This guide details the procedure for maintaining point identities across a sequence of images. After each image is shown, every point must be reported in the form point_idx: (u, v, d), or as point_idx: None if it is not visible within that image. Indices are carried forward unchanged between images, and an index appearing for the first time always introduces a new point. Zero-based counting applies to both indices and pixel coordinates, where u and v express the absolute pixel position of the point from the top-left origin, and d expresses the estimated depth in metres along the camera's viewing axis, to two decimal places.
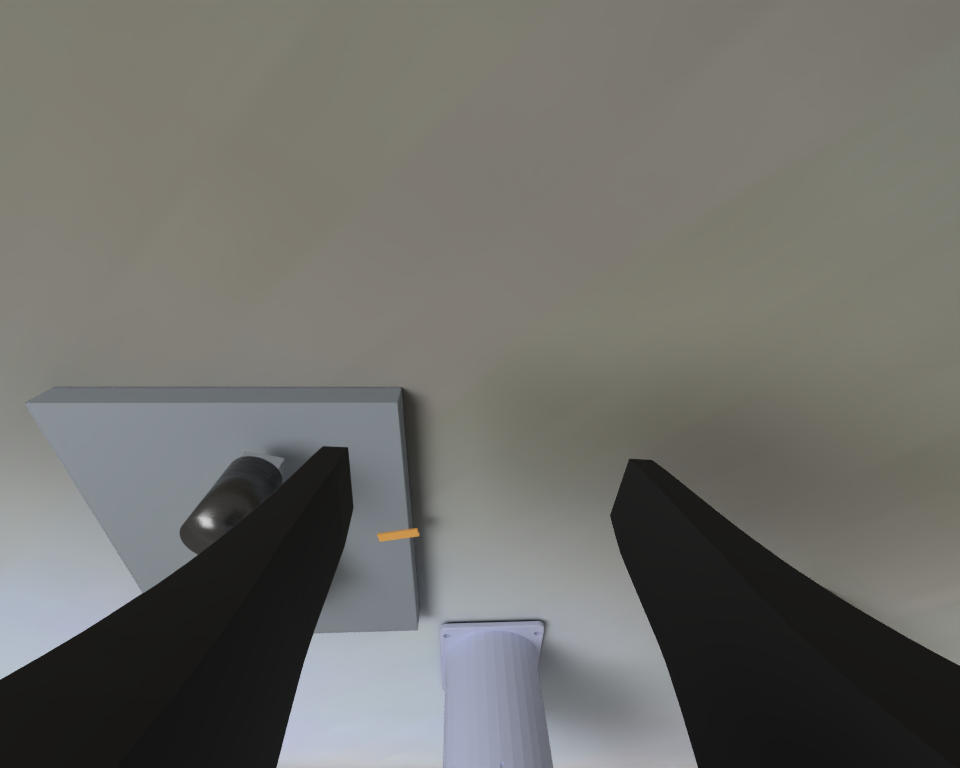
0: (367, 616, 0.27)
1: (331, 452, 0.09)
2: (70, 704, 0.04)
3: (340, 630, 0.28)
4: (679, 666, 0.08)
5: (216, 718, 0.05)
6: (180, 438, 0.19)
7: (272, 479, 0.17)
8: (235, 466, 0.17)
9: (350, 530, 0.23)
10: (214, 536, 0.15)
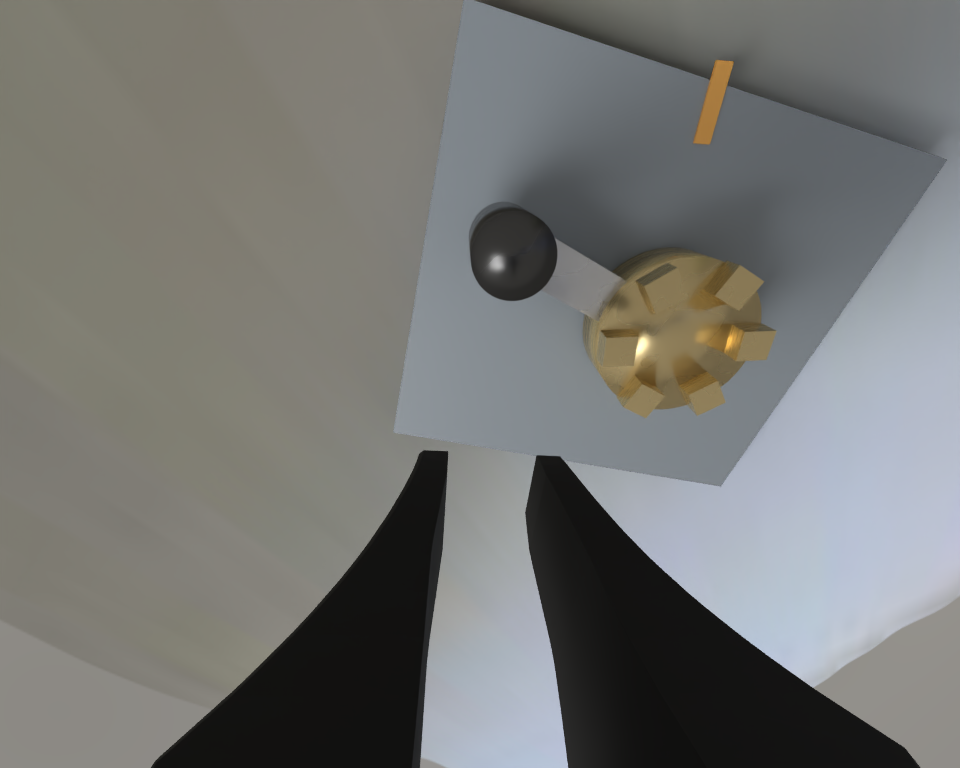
0: (850, 237, 0.16)
1: (435, 457, 0.09)
2: (330, 701, 0.04)
3: (849, 293, 0.18)
4: (561, 666, 0.08)
5: (419, 716, 0.05)
6: (457, 327, 0.17)
7: (501, 203, 0.13)
8: None
9: (667, 185, 0.15)
10: (509, 254, 0.11)
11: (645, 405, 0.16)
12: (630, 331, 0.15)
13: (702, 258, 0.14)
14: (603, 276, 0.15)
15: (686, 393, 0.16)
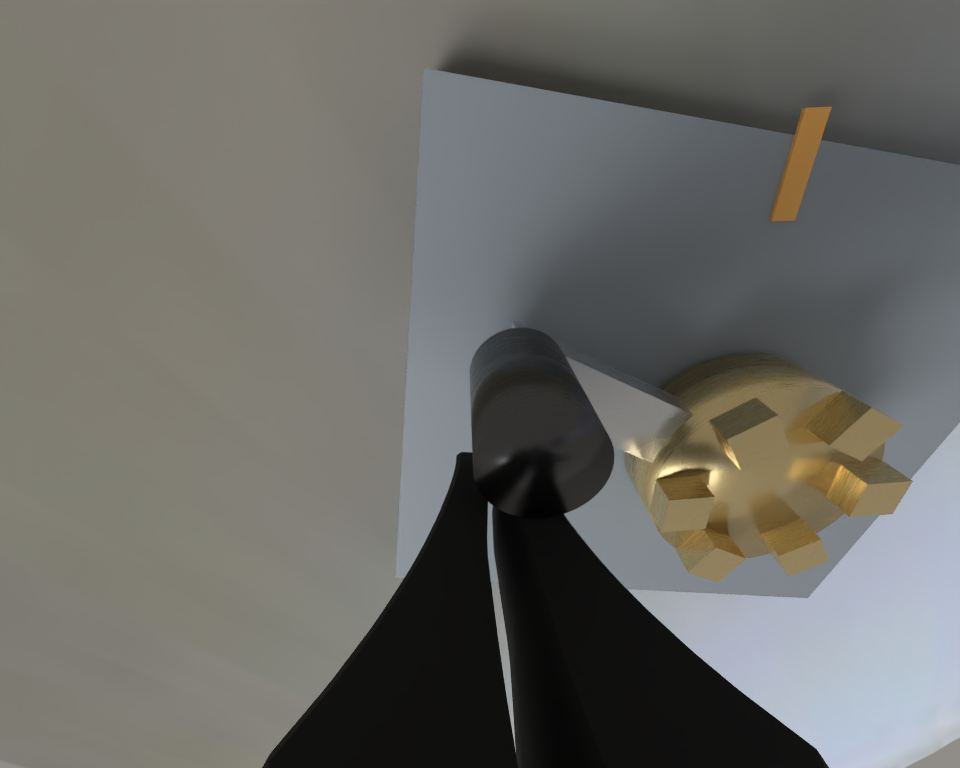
0: None
1: None
2: (422, 700, 0.04)
3: None
4: (514, 666, 0.08)
5: None
6: None
7: (516, 337, 0.09)
8: None
9: (733, 277, 0.11)
10: (536, 463, 0.07)
11: (718, 568, 0.12)
12: (699, 482, 0.11)
13: (807, 389, 0.10)
14: (660, 410, 0.10)
15: (774, 550, 0.12)
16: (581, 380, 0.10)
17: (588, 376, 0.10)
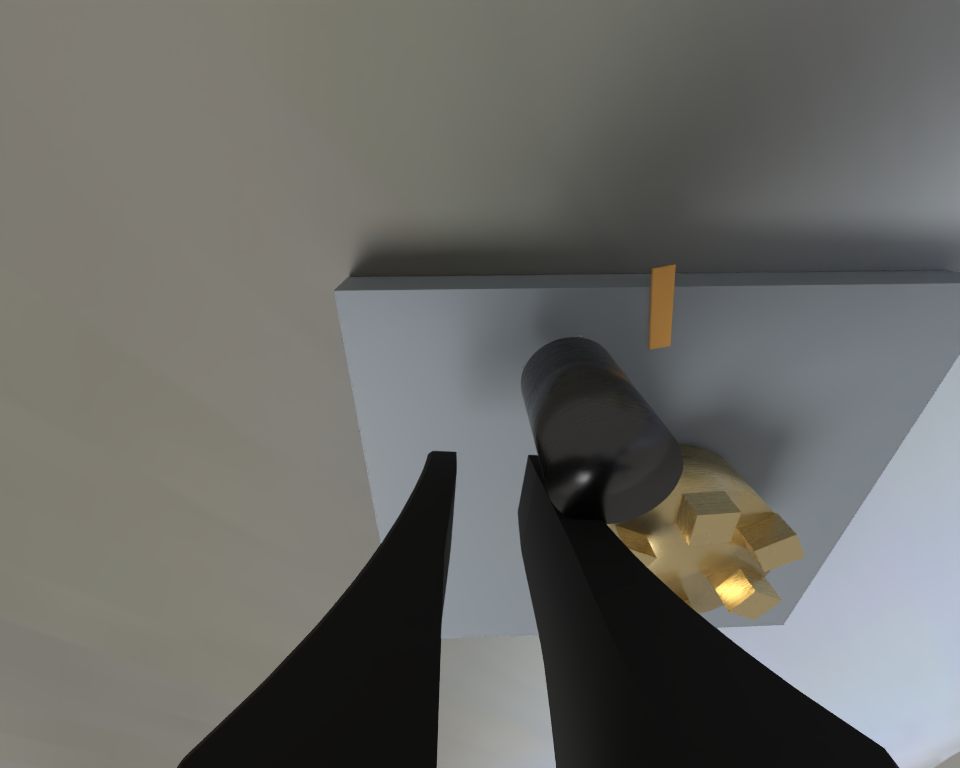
0: (886, 385, 0.13)
1: (444, 457, 0.09)
2: (351, 701, 0.04)
3: (900, 435, 0.14)
4: (550, 666, 0.08)
5: None
6: None
7: (599, 350, 0.09)
8: (532, 373, 0.09)
9: None
10: (612, 469, 0.07)
11: None
12: (646, 541, 0.12)
13: (758, 501, 0.12)
14: None
15: None
16: None
17: None
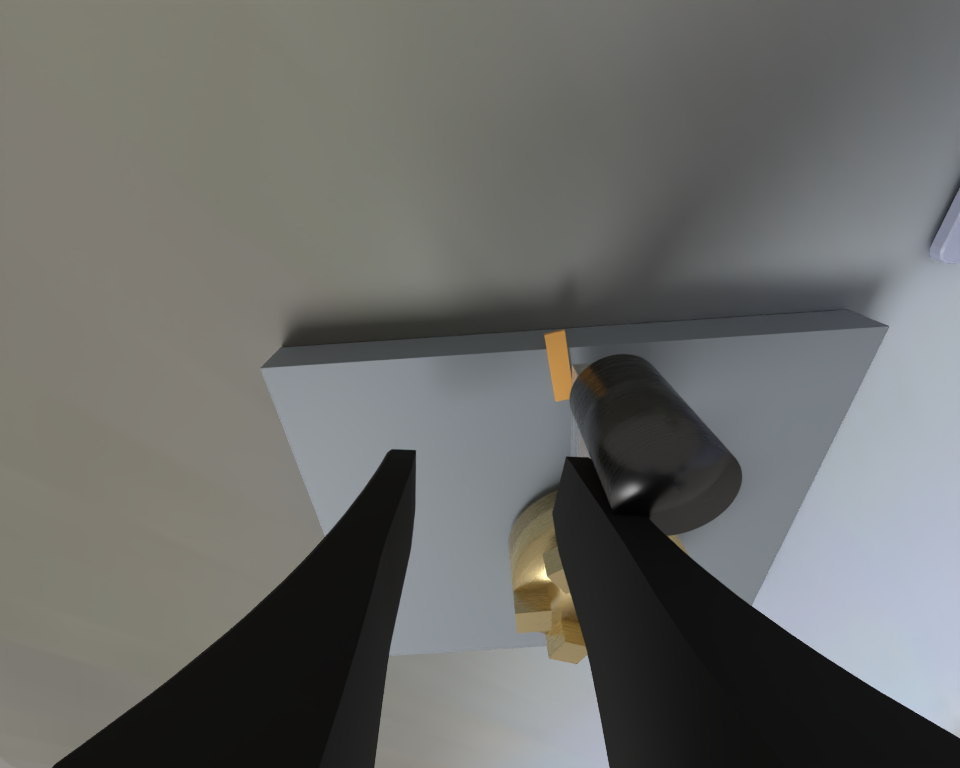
0: (791, 420, 0.13)
1: (402, 455, 0.09)
2: (249, 702, 0.04)
3: (815, 463, 0.14)
4: (599, 666, 0.08)
5: (355, 717, 0.05)
6: None
7: (666, 380, 0.09)
8: (603, 373, 0.09)
9: (545, 437, 0.14)
10: (679, 486, 0.07)
11: (530, 624, 0.13)
12: None
13: None
14: None
15: (563, 635, 0.14)
16: None
17: None
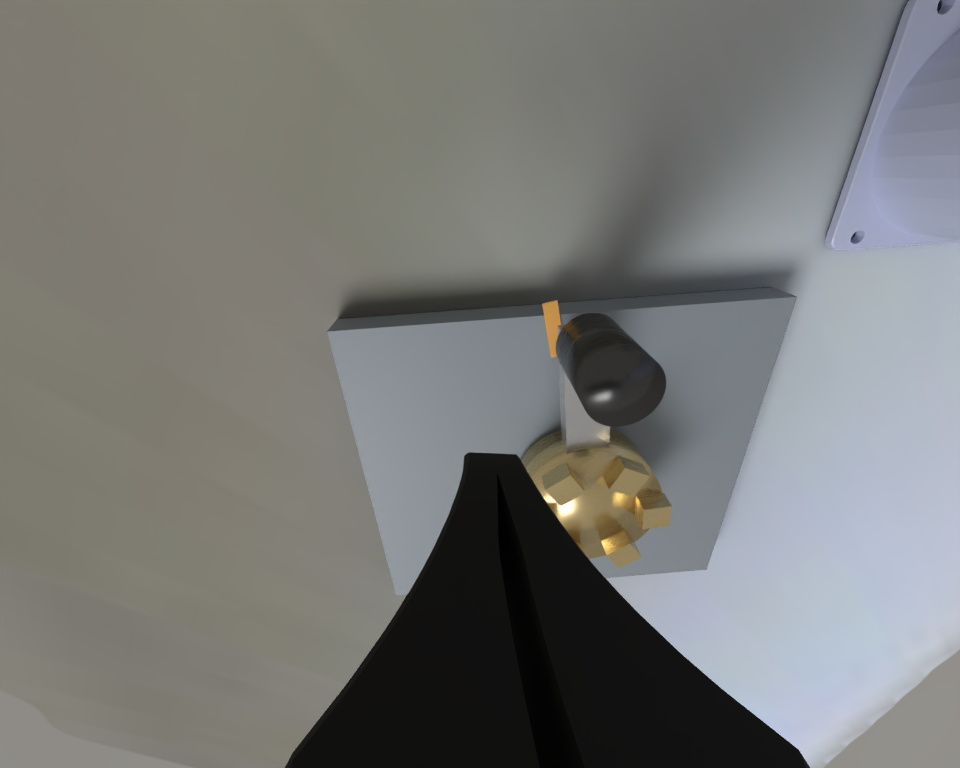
0: (732, 373, 0.17)
1: (482, 459, 0.09)
2: (440, 701, 0.04)
3: (754, 409, 0.18)
4: None
5: None
6: (415, 519, 0.21)
7: None
8: (577, 325, 0.13)
9: (543, 388, 0.17)
10: (625, 386, 0.11)
11: None
12: (580, 481, 0.16)
13: (656, 479, 0.17)
14: (603, 431, 0.16)
15: None
16: None
17: None
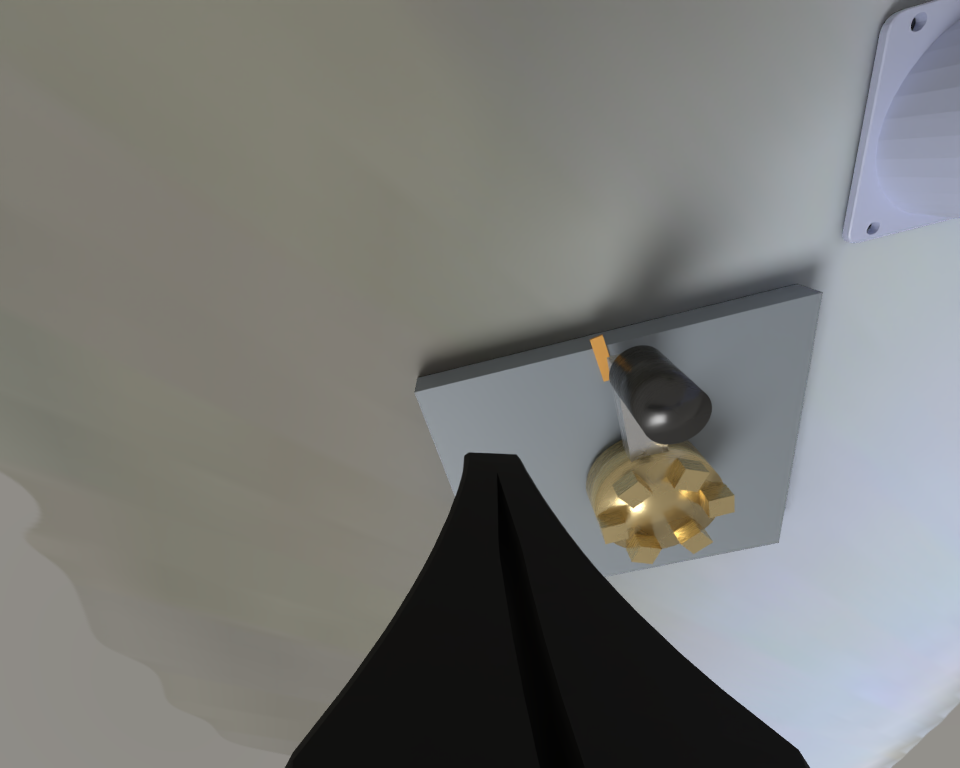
0: (772, 367, 0.19)
1: (482, 459, 0.09)
2: (439, 701, 0.04)
3: (800, 394, 0.20)
4: None
5: None
6: None
7: (665, 356, 0.16)
8: (626, 360, 0.16)
9: (601, 407, 0.20)
10: (677, 412, 0.14)
11: (613, 536, 0.20)
12: (647, 484, 0.19)
13: (716, 473, 0.19)
14: None
15: (638, 543, 0.20)
16: None
17: None
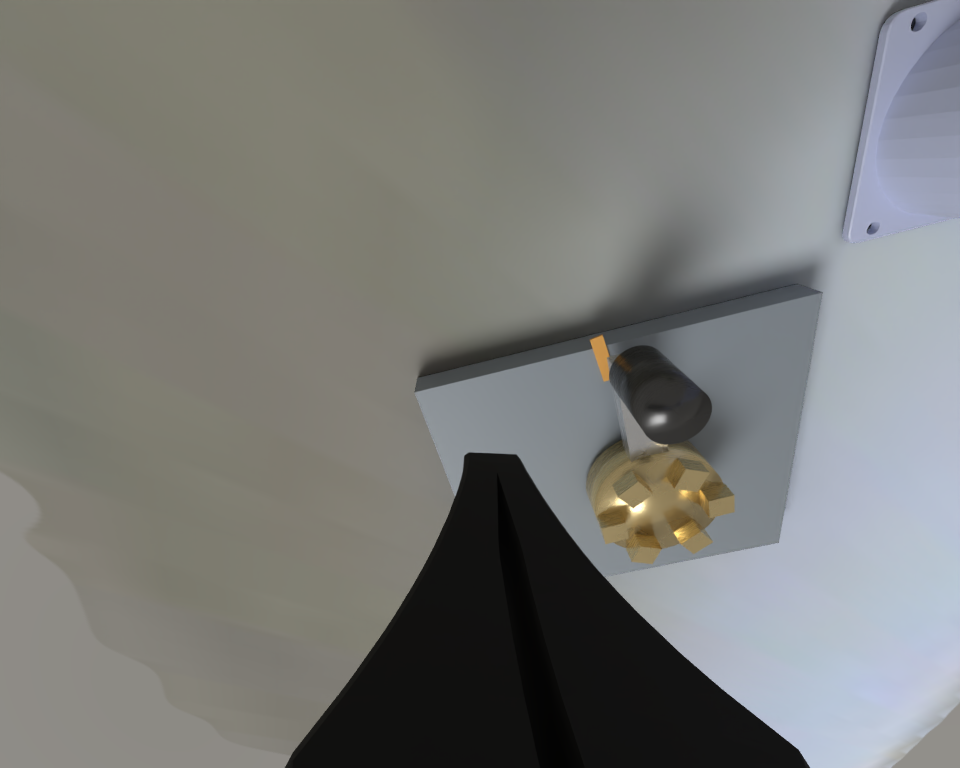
0: (772, 367, 0.19)
1: (482, 459, 0.09)
2: (439, 701, 0.04)
3: (800, 394, 0.20)
4: None
5: None
6: None
7: (665, 356, 0.16)
8: (626, 360, 0.16)
9: (601, 407, 0.20)
10: (677, 412, 0.14)
11: (613, 536, 0.20)
12: (647, 484, 0.19)
13: (716, 473, 0.19)
14: None
15: (638, 543, 0.20)
16: None
17: None
